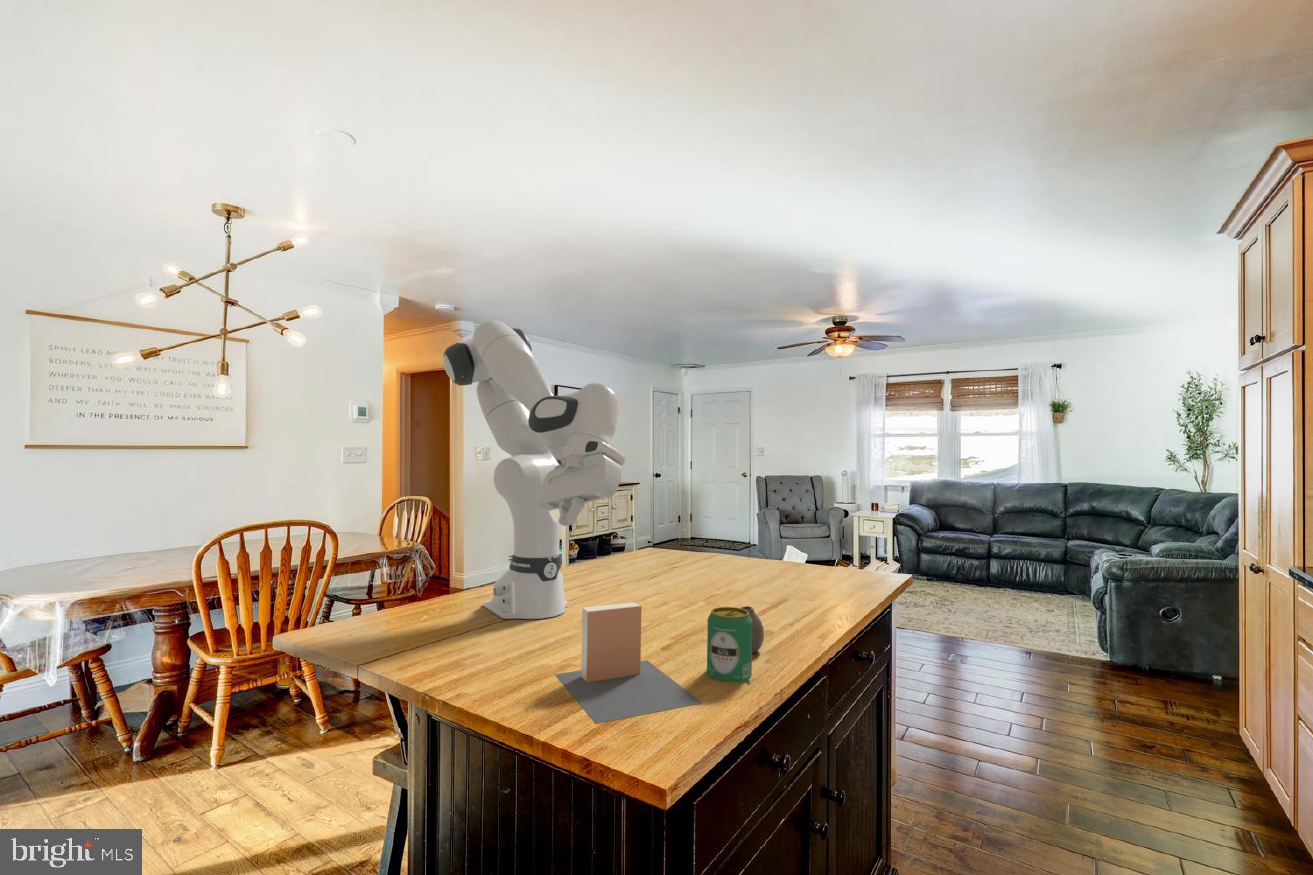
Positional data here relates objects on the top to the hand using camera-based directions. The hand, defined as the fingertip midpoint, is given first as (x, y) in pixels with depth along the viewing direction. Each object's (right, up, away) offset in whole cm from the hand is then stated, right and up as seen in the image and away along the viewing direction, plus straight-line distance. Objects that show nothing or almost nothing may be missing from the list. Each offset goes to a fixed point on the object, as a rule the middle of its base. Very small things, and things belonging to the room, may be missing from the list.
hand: (566, 523), depth 113 cm
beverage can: (+30, -28, -2) cm, 41 cm away
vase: (+35, -28, +13) cm, 47 cm away
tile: (+8, -26, -4) cm, 28 cm away
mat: (+11, -27, -10) cm, 31 cm away
